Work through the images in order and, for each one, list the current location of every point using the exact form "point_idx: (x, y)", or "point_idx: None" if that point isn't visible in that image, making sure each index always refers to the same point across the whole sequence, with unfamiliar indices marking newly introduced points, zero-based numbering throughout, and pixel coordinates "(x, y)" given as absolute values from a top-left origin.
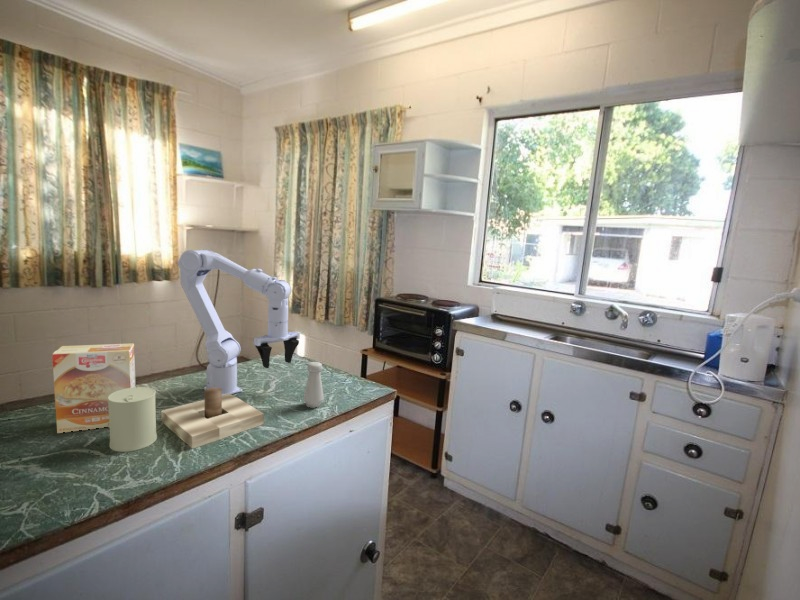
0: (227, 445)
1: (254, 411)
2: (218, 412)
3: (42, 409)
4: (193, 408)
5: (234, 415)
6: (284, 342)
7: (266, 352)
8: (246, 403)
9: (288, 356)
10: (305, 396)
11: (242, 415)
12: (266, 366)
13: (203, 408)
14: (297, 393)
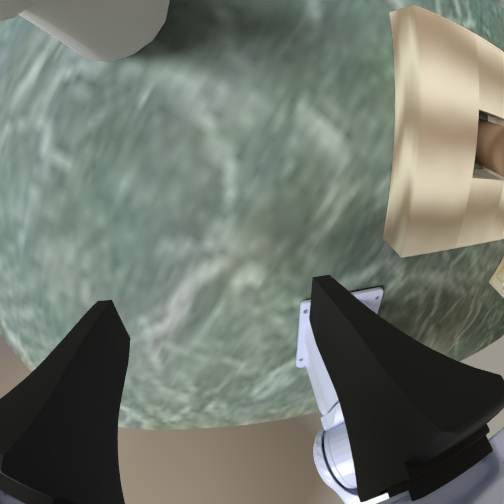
0: (480, 20)
1: (431, 43)
2: (497, 125)
3: (494, 336)
4: (497, 206)
5: (476, 77)
6: (114, 487)
7: (450, 367)
8: (422, 125)
9: (99, 352)
10: (161, 3)
11: (464, 55)
12: (338, 285)
13: (491, 189)
14: (120, 179)
